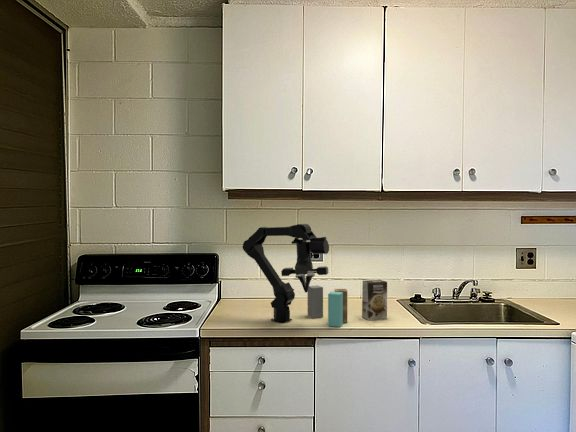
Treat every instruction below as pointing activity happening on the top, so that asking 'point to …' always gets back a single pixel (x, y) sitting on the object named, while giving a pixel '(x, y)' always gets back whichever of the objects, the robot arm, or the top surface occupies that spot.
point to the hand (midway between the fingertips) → (306, 292)
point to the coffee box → (374, 299)
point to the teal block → (335, 309)
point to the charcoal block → (315, 301)
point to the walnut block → (344, 303)
